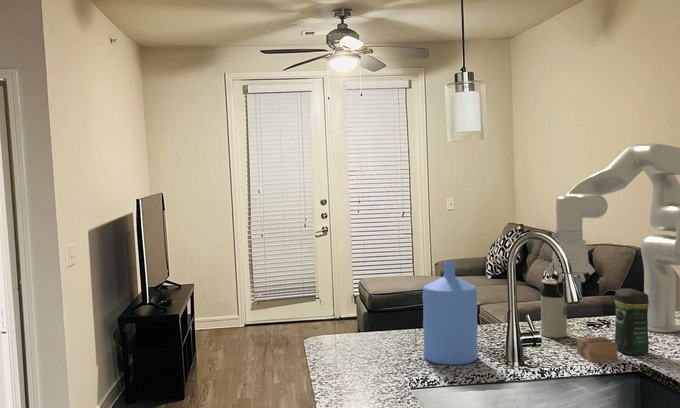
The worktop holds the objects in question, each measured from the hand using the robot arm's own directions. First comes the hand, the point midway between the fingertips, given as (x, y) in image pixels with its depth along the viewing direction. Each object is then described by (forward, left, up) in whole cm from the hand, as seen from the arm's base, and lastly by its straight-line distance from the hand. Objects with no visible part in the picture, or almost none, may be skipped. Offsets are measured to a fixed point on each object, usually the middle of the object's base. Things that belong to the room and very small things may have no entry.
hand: (570, 293), depth 204 cm
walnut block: (+14, +4, -16) cm, 22 cm away
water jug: (+15, -38, -16) cm, 44 cm away
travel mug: (-11, -2, -16) cm, 19 cm away
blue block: (0, 0, -1) cm, 1 cm away
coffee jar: (+8, +15, -16) cm, 24 cm away
